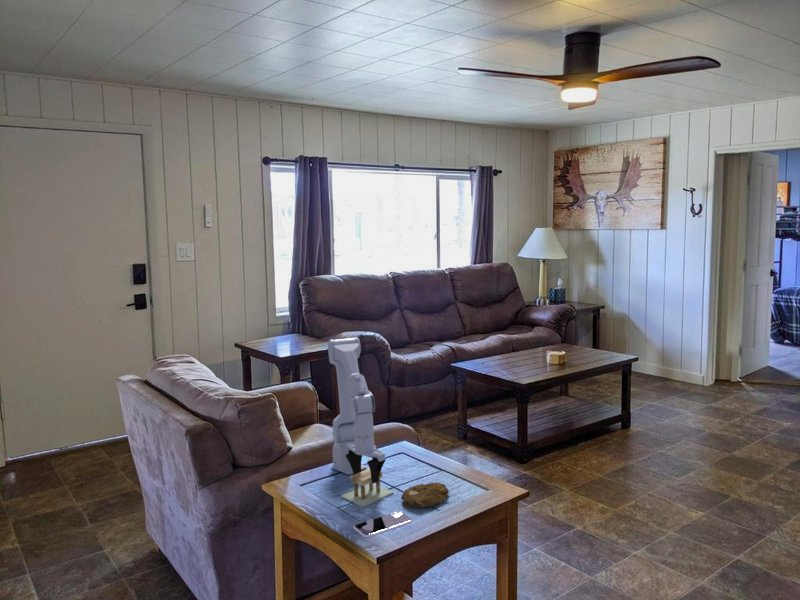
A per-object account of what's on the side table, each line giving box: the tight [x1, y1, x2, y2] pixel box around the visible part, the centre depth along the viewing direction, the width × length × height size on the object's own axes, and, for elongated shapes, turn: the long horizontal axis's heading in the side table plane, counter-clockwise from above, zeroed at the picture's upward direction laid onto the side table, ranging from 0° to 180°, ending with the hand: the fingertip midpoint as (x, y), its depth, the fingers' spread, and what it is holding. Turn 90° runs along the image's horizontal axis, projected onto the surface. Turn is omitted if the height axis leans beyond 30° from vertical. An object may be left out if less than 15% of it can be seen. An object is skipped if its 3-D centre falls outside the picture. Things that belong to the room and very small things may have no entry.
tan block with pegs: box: [350, 467, 383, 499], centre depth 184 cm, size 5×8×6 cm
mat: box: [340, 483, 394, 508], centre depth 184 cm, size 10×12×1 cm
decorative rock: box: [400, 481, 450, 509], centre depth 179 cm, size 11×4×15 cm
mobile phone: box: [353, 510, 413, 538], centre depth 165 cm, size 8×1×15 cm
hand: (366, 478), depth 183 cm, fingers open, 7 cm apart
